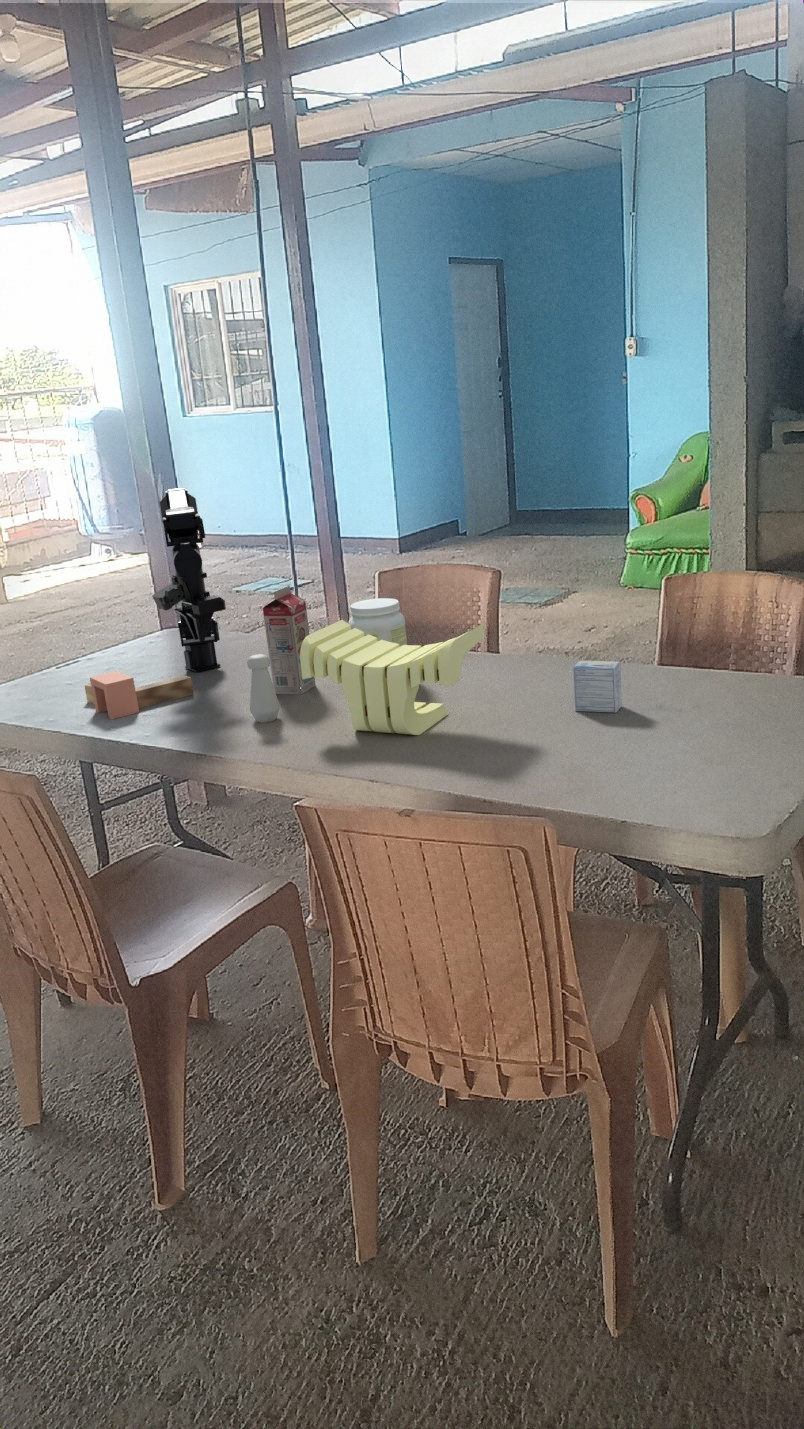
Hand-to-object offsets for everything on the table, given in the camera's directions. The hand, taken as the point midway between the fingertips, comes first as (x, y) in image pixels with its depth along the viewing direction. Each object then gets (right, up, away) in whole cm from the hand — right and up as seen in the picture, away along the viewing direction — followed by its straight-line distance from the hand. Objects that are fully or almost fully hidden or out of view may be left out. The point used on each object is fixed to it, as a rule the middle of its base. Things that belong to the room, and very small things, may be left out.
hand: (199, 640), depth 235 cm
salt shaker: (+18, -17, -23) cm, 34 cm away
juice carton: (+21, -11, -4) cm, 24 cm away
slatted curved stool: (+44, -18, -34) cm, 58 cm away
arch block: (-16, -16, -8) cm, 24 cm away
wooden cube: (-22, -13, +2) cm, 26 cm away
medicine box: (+81, -15, -36) cm, 90 cm away
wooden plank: (-9, -14, -4) cm, 17 cm away
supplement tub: (+40, -9, -3) cm, 41 cm away
